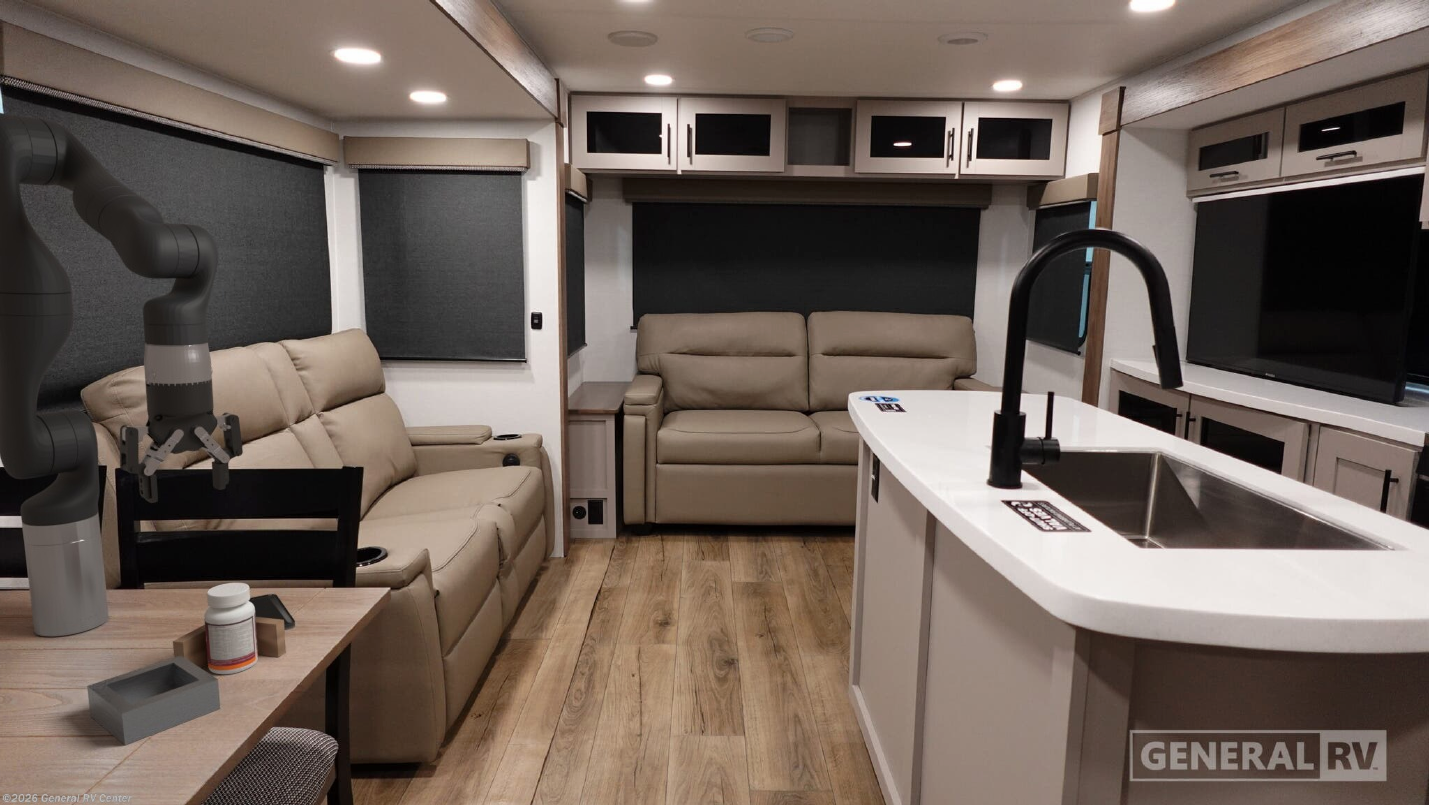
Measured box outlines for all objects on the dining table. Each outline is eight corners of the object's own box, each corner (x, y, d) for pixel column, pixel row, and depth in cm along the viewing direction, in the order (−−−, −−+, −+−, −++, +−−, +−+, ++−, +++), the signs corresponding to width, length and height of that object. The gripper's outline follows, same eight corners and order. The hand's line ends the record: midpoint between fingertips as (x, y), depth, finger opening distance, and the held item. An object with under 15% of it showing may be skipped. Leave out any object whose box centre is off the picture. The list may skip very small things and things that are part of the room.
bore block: (90, 715, 106) (87, 686, 105) (183, 683, 114) (180, 655, 113) (124, 745, 99) (121, 713, 99) (220, 708, 108) (218, 679, 107)
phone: (275, 592, 143) (296, 622, 132) (275, 599, 144) (296, 629, 132) (222, 603, 139) (239, 635, 127) (222, 609, 139) (239, 642, 127)
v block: (287, 655, 123) (284, 622, 122) (176, 679, 115) (173, 644, 114) (279, 634, 129) (277, 603, 128) (173, 655, 122) (170, 622, 121)
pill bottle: (221, 656, 122) (215, 581, 120) (265, 655, 123) (261, 580, 121) (199, 676, 116) (193, 598, 114) (246, 675, 117) (241, 597, 115)
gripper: (221, 369, 120) (227, 479, 123) (105, 378, 109) (114, 500, 112) (248, 375, 116) (253, 489, 119) (130, 385, 105) (139, 512, 107)
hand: (186, 494), depth 115 cm, fingers open, 8 cm apart
